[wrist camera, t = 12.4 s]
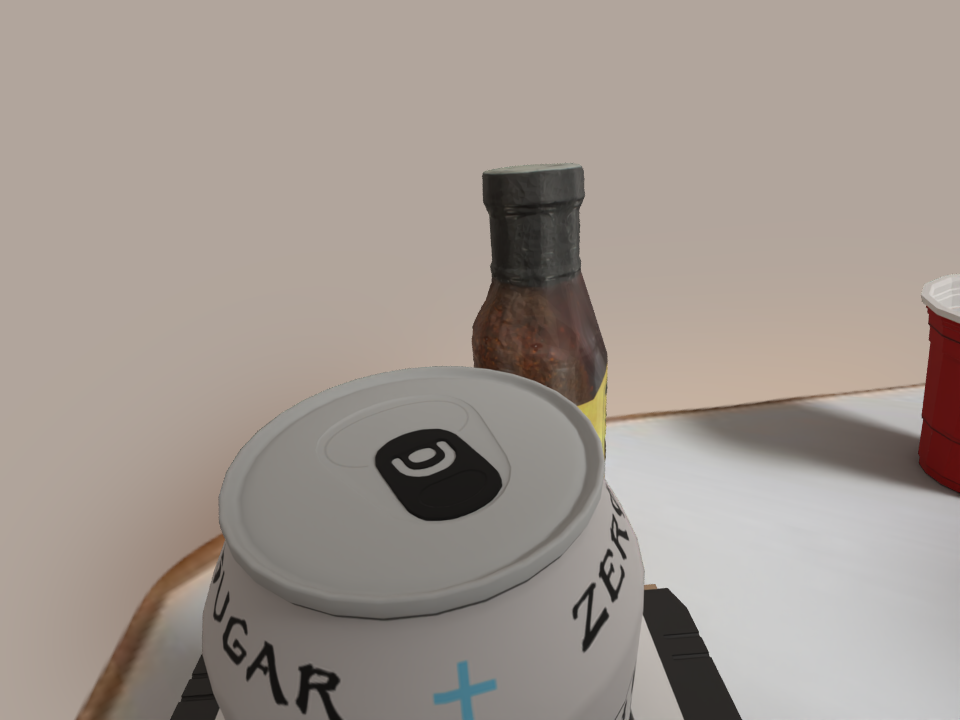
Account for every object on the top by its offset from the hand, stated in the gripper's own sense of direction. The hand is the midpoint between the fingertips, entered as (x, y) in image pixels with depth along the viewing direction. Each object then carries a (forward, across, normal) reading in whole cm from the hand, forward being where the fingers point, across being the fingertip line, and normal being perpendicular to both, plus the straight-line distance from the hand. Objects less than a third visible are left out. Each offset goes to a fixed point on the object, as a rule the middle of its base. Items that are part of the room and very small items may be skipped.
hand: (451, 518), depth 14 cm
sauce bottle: (+10, +4, -12) cm, 16 cm away
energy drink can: (-5, 0, -9) cm, 11 cm away
